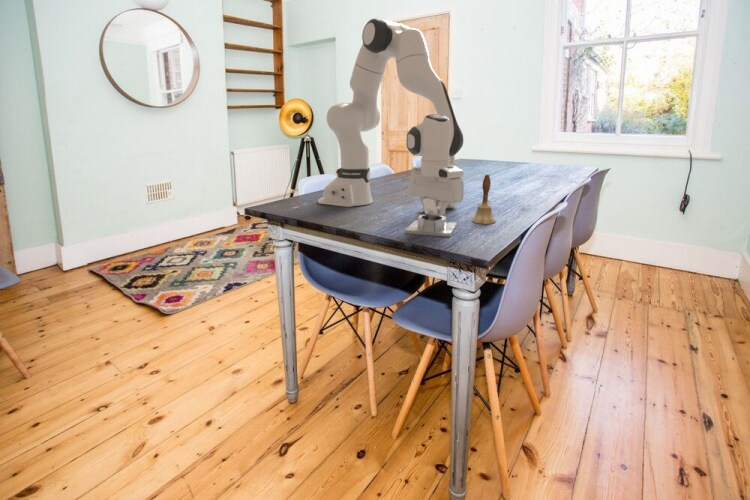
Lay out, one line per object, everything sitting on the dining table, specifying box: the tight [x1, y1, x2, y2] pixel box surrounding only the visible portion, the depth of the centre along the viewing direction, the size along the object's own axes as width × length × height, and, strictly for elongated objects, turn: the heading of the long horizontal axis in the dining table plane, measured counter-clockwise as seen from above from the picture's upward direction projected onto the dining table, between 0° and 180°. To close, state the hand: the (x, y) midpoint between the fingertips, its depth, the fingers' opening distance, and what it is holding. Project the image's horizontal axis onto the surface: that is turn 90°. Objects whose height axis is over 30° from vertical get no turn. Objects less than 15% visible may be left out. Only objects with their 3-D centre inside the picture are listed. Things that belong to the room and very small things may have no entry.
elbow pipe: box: [422, 197, 442, 220], centre depth 145 cm, size 5×5×8 cm
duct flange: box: [404, 215, 458, 238], centre depth 146 cm, size 14×14×4 cm
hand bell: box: [470, 174, 497, 225], centre depth 155 cm, size 8×8×16 cm
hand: (433, 213), depth 146 cm, fingers closed on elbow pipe, 5 cm apart
